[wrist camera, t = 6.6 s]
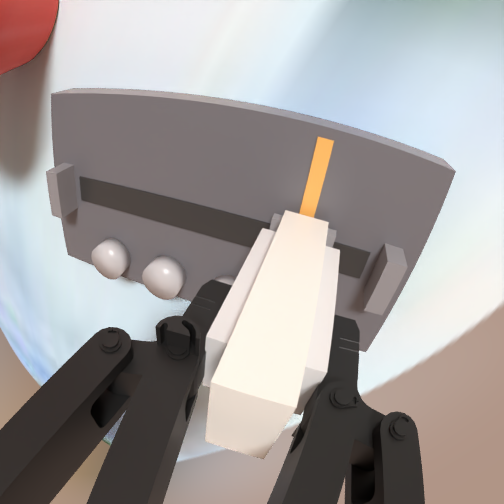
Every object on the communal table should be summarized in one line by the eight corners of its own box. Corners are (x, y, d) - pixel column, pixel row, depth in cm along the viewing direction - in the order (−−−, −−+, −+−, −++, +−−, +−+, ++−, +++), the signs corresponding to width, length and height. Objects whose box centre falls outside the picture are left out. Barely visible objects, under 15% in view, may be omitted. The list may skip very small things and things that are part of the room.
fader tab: (261, 271, 17) (190, 435, 9) (276, 203, 15) (189, 374, 7) (316, 287, 16) (278, 462, 9) (339, 221, 14) (317, 412, 6)
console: (83, 241, 23) (54, 266, 20) (73, 88, 16) (32, 99, 13) (366, 329, 20) (365, 371, 17) (443, 159, 13) (467, 183, 10)
